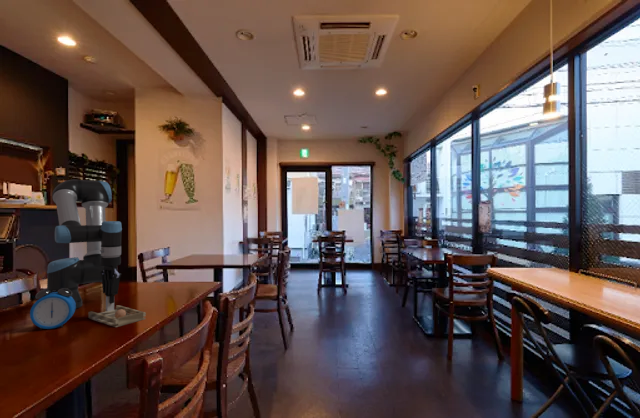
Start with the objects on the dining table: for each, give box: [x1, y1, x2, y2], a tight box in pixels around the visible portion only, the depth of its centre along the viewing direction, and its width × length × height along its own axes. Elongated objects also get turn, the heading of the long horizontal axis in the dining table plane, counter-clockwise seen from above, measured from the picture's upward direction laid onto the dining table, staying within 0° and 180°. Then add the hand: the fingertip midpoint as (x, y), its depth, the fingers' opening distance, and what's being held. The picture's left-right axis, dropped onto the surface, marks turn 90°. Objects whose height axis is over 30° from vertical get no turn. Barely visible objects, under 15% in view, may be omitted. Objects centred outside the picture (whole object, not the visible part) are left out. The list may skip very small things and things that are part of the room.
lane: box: [88, 304, 147, 328], centre depth 137 cm, size 22×12×3 cm, turn 59°
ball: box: [115, 309, 126, 318], centre depth 135 cm, size 4×4×4 cm
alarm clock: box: [29, 288, 77, 331], centre depth 127 cm, size 13×6×15 cm, turn 115°
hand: (109, 310), depth 140 cm, fingers closed
